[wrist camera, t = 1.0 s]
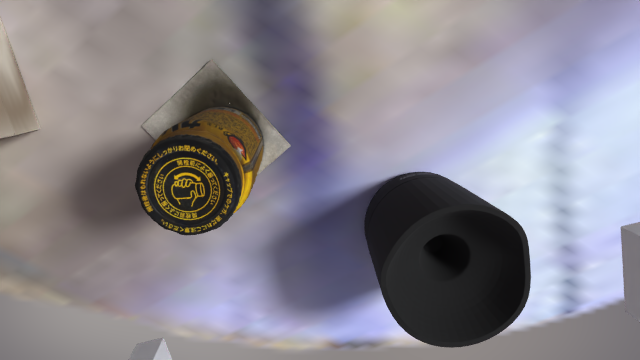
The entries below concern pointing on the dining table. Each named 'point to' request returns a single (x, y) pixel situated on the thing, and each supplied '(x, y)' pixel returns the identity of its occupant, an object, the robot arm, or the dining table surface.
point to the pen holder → (446, 260)
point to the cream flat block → (13, 94)
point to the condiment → (204, 154)
